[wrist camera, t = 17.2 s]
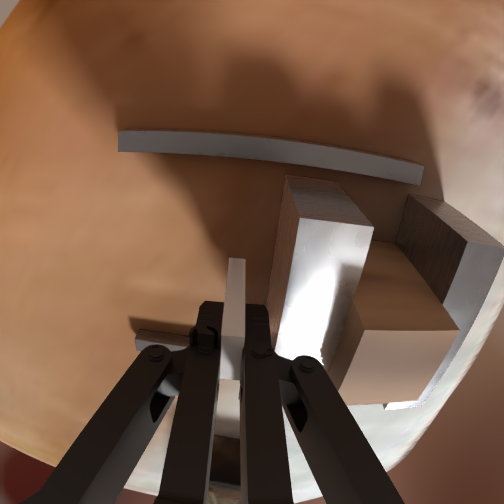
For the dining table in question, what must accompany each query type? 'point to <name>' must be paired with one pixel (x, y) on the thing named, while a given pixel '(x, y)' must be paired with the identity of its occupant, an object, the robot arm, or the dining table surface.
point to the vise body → (409, 236)
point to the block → (390, 333)
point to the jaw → (315, 267)
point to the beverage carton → (225, 472)
